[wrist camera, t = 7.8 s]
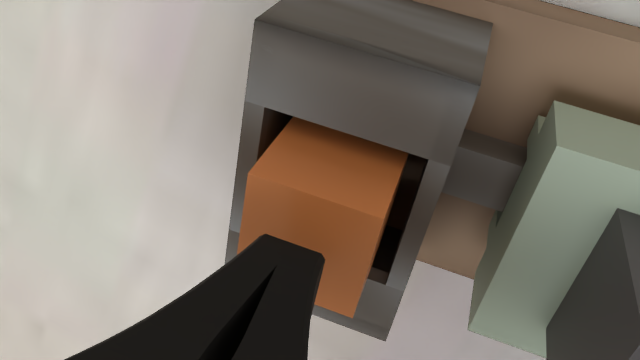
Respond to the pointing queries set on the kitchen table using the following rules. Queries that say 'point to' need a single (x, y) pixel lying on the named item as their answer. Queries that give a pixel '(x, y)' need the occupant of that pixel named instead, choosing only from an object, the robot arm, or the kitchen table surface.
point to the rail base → (525, 94)
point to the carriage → (567, 244)
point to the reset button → (324, 203)
